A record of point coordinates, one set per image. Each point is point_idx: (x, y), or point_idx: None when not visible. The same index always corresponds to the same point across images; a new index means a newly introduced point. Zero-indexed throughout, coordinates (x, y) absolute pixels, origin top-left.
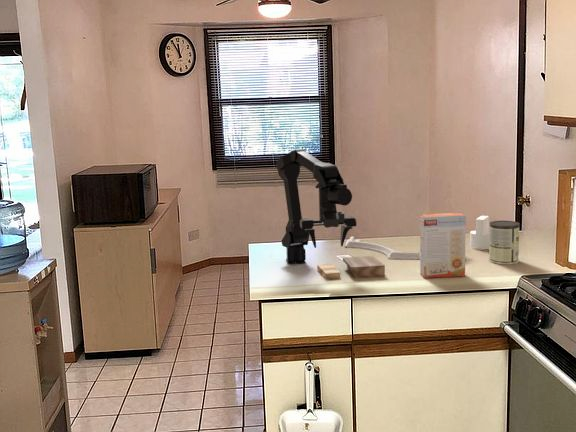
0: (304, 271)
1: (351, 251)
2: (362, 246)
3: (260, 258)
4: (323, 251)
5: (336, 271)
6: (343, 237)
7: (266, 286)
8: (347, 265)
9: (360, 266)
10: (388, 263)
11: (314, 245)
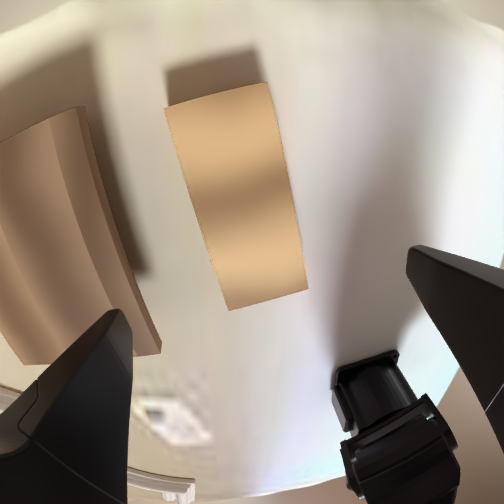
0: (363, 254)
1: (169, 461)
2: (144, 477)
3: (439, 383)
4: (254, 460)
5: (190, 134)
6: (55, 378)
7: (496, 51)
8: (115, 227)
9: (23, 140)
10: (11, 356)
11: (440, 250)
